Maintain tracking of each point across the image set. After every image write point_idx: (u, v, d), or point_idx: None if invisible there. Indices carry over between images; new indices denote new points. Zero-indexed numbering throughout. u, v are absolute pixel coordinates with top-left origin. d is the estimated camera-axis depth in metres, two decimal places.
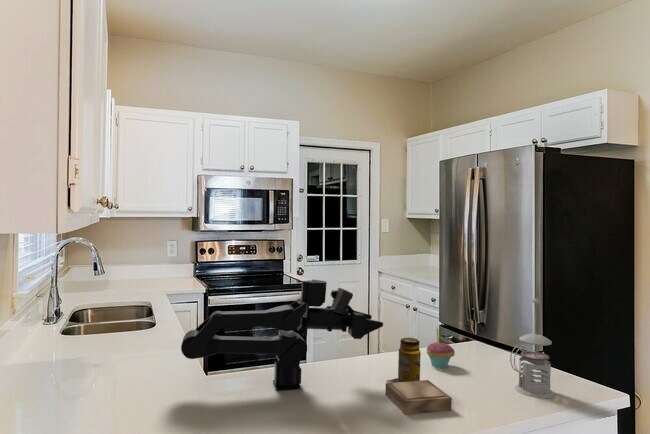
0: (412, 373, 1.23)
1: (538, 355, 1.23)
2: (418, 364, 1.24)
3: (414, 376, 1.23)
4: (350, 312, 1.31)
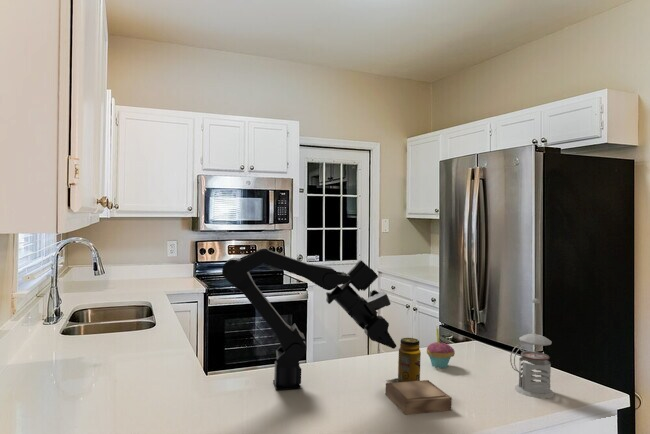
0: (412, 373, 1.23)
1: (538, 355, 1.23)
2: (418, 364, 1.24)
3: (414, 376, 1.23)
4: None
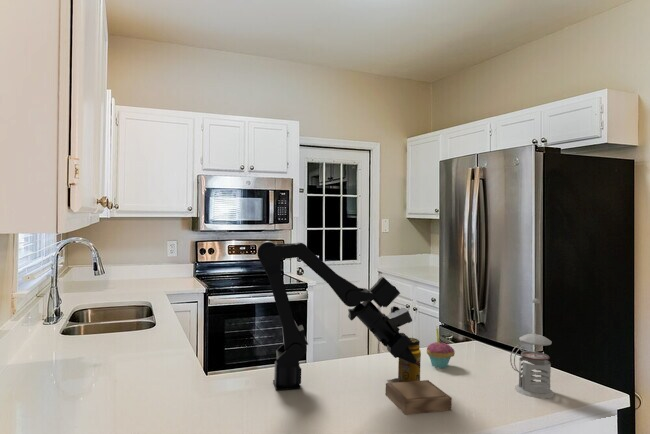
0: (412, 373, 1.23)
1: (538, 355, 1.23)
2: (418, 364, 1.24)
3: (414, 376, 1.23)
4: None
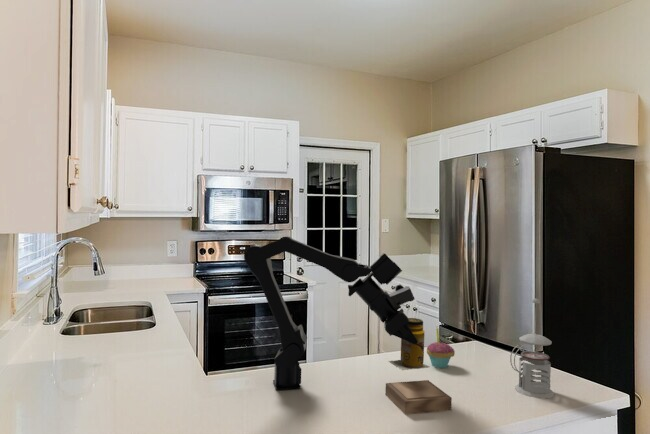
0: (413, 354, 1.17)
1: (538, 355, 1.23)
2: (420, 345, 1.18)
3: (415, 357, 1.17)
4: None
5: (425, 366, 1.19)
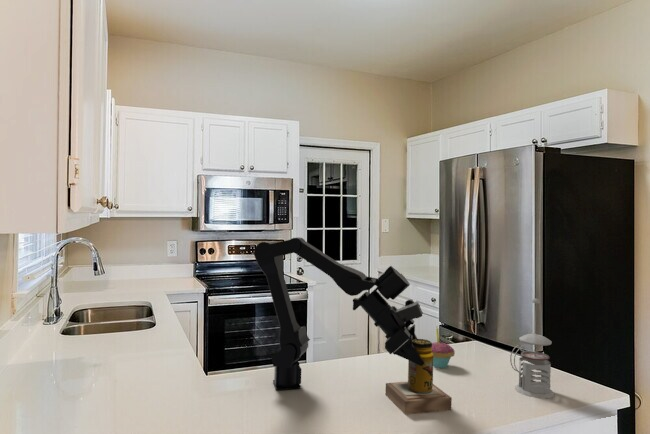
0: (419, 379, 1.09)
1: (538, 355, 1.23)
2: (427, 369, 1.10)
3: (421, 382, 1.09)
4: (410, 332, 1.18)
5: (433, 392, 1.10)
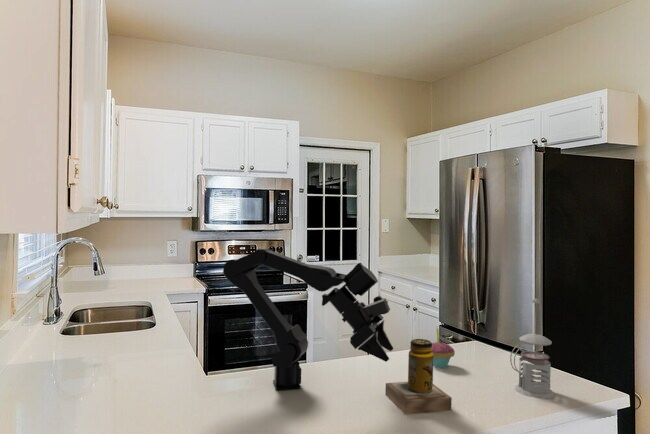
0: (419, 379, 1.09)
1: (538, 355, 1.23)
2: (427, 369, 1.10)
3: (421, 382, 1.09)
4: (378, 328, 1.20)
5: (433, 392, 1.10)
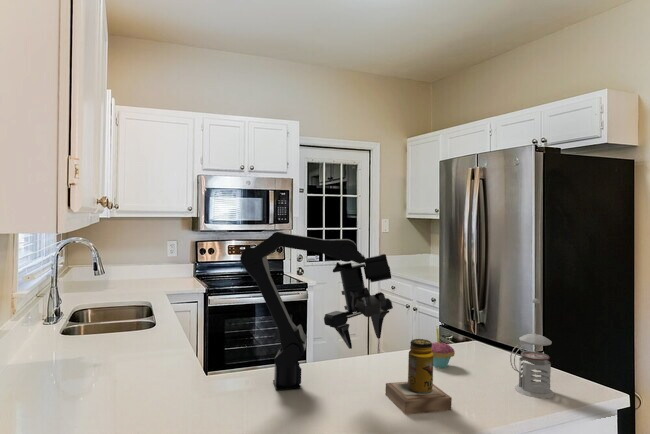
0: (419, 379, 1.09)
1: (538, 355, 1.23)
2: (427, 369, 1.10)
3: (421, 382, 1.09)
4: (377, 315, 1.22)
5: (433, 392, 1.10)
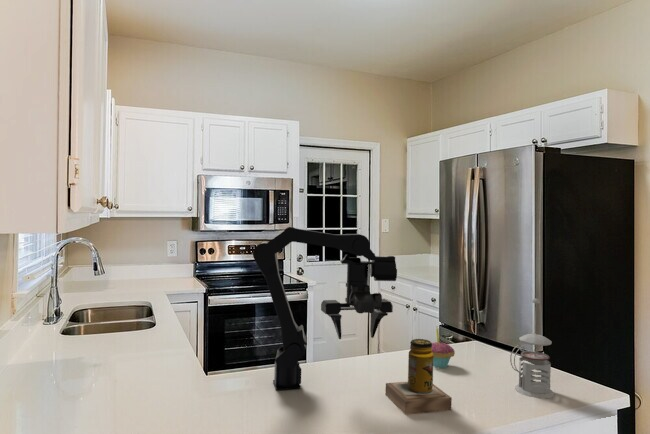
0: (419, 379, 1.09)
1: (538, 355, 1.23)
2: (427, 369, 1.10)
3: (421, 382, 1.09)
4: (375, 315, 1.22)
5: (433, 392, 1.10)
